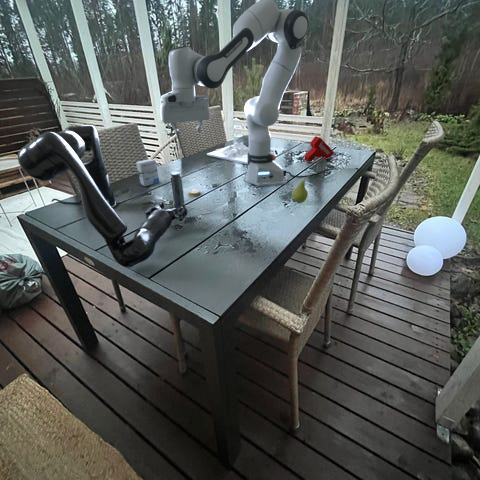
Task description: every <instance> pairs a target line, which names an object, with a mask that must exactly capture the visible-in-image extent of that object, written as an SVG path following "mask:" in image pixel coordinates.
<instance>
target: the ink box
mask: <svg viewBox="0 0 480 480" xmlns="http://www.w3.org/2000/svg"><path fill="white" fill-rule="evenodd" d="M135 165H136V168H137V173H138V178H139V182H140V185H141V186H144V187H149V186H152V185H155V184H158V183H160V177H159V172H158V167H157V162H156V160H155V159H153V158H147V159H144V160H139V161H136V162H135Z"/></svg>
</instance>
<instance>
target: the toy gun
mask: <svg viewBox="0 0 480 480" xmlns="http://www.w3.org/2000/svg"><path fill="white" fill-rule="evenodd" d="M309 145H310V147H311V148H310V149H309V151H308V152H306V153H305V154H304V155H303V158H304V159H303V160H304V161H305V162H307V161H312V162H313V161H314V160H315V159H316V158H319V159H320V158H323V157H325V158H323V159H324V160H326V161H330V160H329V159H326V158H328V157H331V158H332V157H333V156H334V154H335V152H334V151H333V150H332V148H330V146H329V145H328V144H327V143H326V141H324V139H322V137H320V136H316V135H315V136H314V137H313V139H311V141H310V143H309ZM312 162H308V163H309V164H312Z"/></svg>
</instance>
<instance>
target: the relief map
mask: <svg viewBox="0 0 480 480" xmlns="http://www.w3.org/2000/svg"><path fill="white" fill-rule="evenodd" d="M248 152H249V146H246V145H245V144H244V143H243V142H242V141H240V142H238V141H236V142H234V144H230V145H228V146H225V147H221V148H216V149H215V150H213V151H211V152H207V153H206V156H208V157H213V158H218V159H221V160H226V161H231V162H235V163H238V164H239V163H240V164H245V165H248V163H247V155H248ZM270 153H272V152H271V151H270Z"/></svg>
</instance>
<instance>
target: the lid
mask: <svg viewBox="0 0 480 480" xmlns="http://www.w3.org/2000/svg"><path fill="white" fill-rule="evenodd" d="M200 193H201V192H200V190H199V189H195V188H194V189H190V190H189V191H188V195H189V196H190V197H198V196H200Z"/></svg>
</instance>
